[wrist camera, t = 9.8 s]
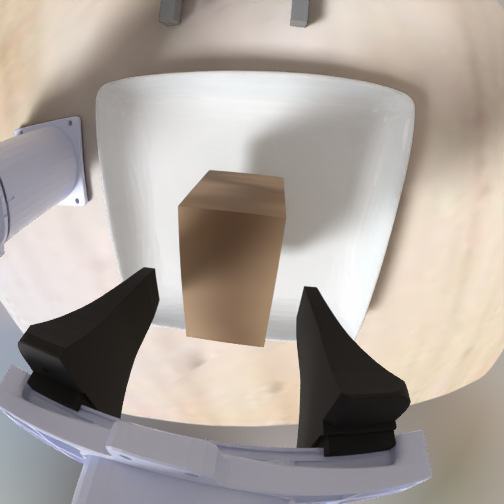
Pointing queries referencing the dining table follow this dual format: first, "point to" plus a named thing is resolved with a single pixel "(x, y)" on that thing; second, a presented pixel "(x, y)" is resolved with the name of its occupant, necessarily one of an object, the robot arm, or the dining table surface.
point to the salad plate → (263, 163)
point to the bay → (173, 3)
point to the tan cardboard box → (230, 255)
